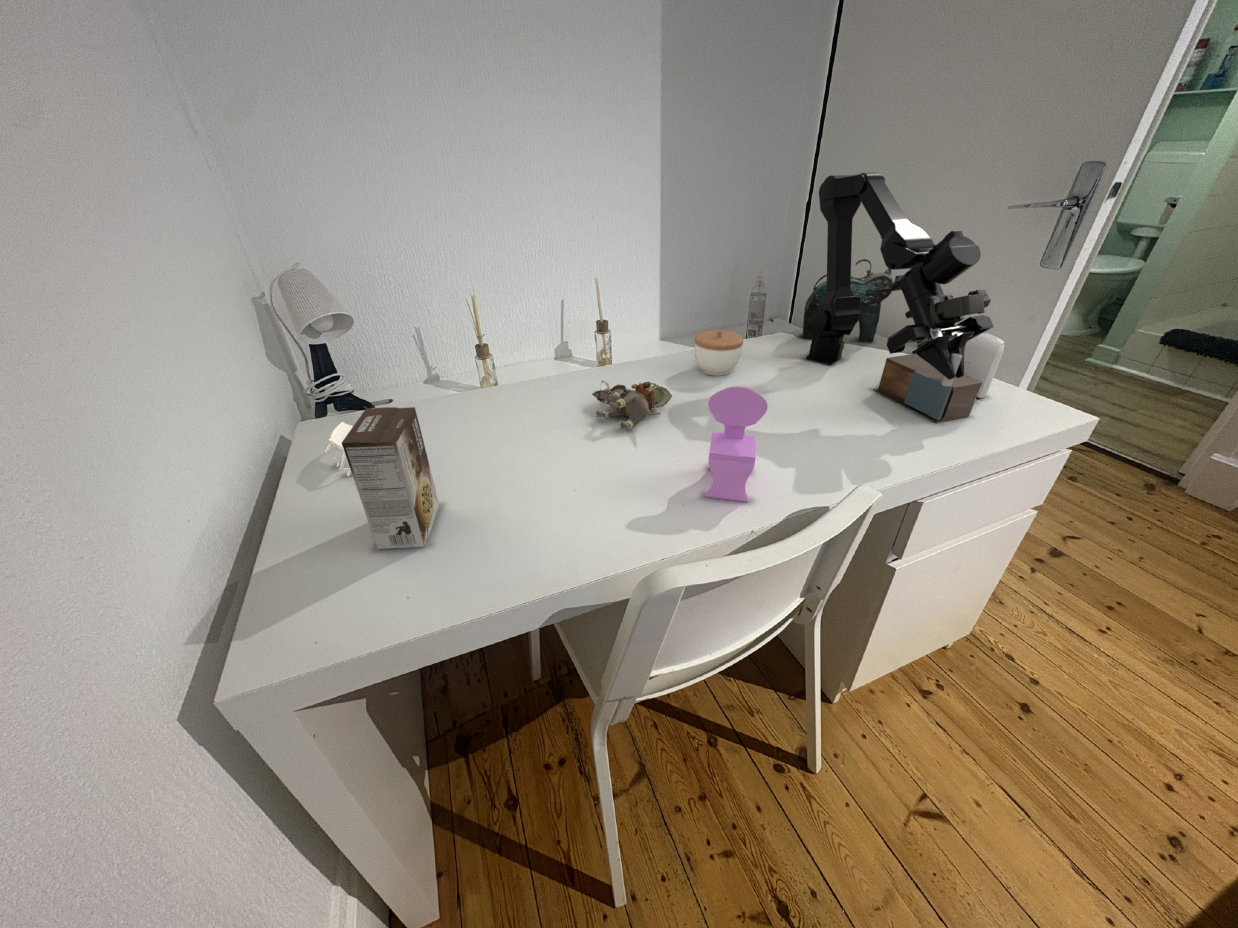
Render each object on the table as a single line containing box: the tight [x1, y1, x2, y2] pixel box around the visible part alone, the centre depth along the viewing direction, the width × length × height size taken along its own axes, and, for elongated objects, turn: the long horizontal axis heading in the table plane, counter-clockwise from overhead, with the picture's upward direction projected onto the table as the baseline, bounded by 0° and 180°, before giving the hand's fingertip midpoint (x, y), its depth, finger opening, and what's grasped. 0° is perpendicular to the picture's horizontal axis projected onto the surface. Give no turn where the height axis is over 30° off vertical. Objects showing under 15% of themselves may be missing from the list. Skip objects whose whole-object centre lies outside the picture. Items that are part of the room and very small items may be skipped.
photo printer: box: [964, 332, 1006, 399], centre depth 104 cm, size 10×4×12 cm, turn 39°
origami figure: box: [324, 421, 354, 477], centre depth 85 cm, size 12×8×5 cm
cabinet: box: [872, 353, 982, 424], centre depth 101 cm, size 16×8×7 cm, turn 19°
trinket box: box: [693, 329, 744, 377], centre depth 115 cm, size 11×11×9 cm
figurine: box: [591, 380, 673, 430], centre depth 99 cm, size 20×6×17 cm
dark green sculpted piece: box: [802, 258, 894, 343], centre depth 131 cm, size 20×6×20 cm, turn 77°
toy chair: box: [704, 385, 769, 502], centre depth 74 cm, size 8×9×15 cm
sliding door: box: [904, 354, 962, 420], centre depth 95 cm, size 8×2×12 cm, turn 19°
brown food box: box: [341, 406, 440, 550], centre depth 66 cm, size 9×6×16 cm
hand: (956, 377), depth 90 cm, fingers closed on sliding door, 2 cm apart
